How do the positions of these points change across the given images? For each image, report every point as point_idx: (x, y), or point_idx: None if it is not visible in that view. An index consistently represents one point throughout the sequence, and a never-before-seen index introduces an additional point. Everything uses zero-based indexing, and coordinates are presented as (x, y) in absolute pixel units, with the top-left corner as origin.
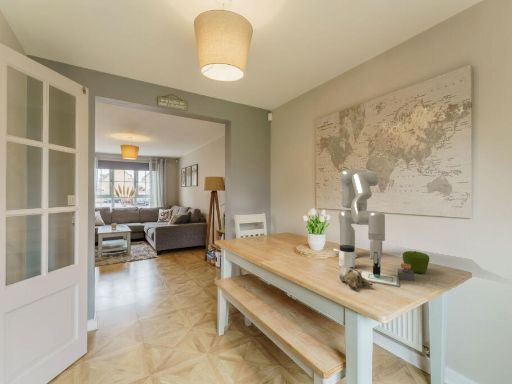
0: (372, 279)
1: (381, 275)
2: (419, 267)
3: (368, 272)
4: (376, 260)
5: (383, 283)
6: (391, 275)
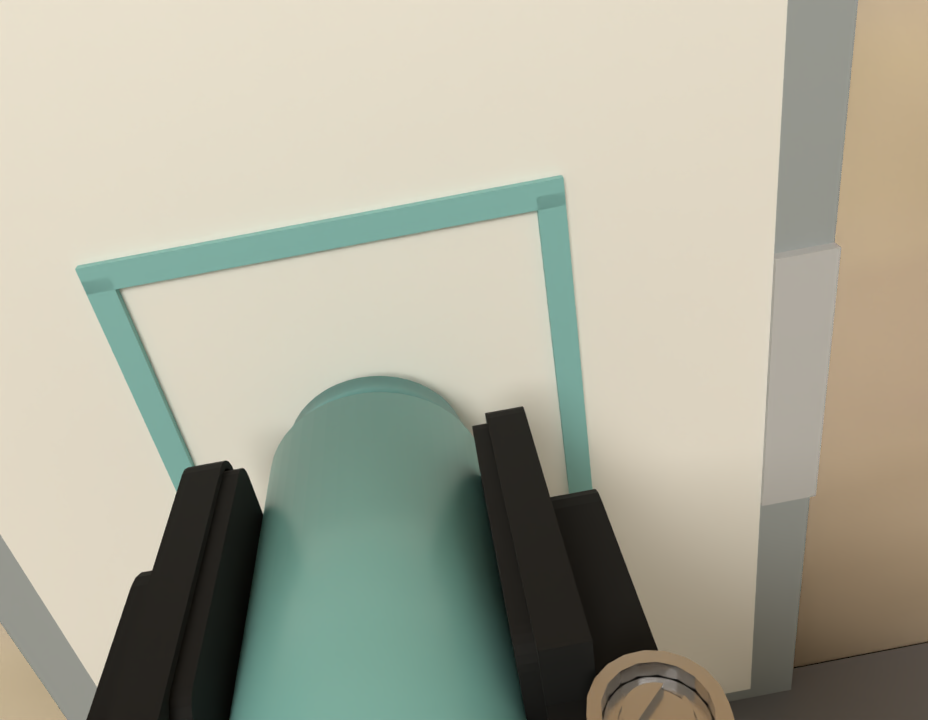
0: (47, 411)
1: (623, 478)
2: None
3: (738, 98)
4: None
5: (19, 644)
6: (777, 609)
